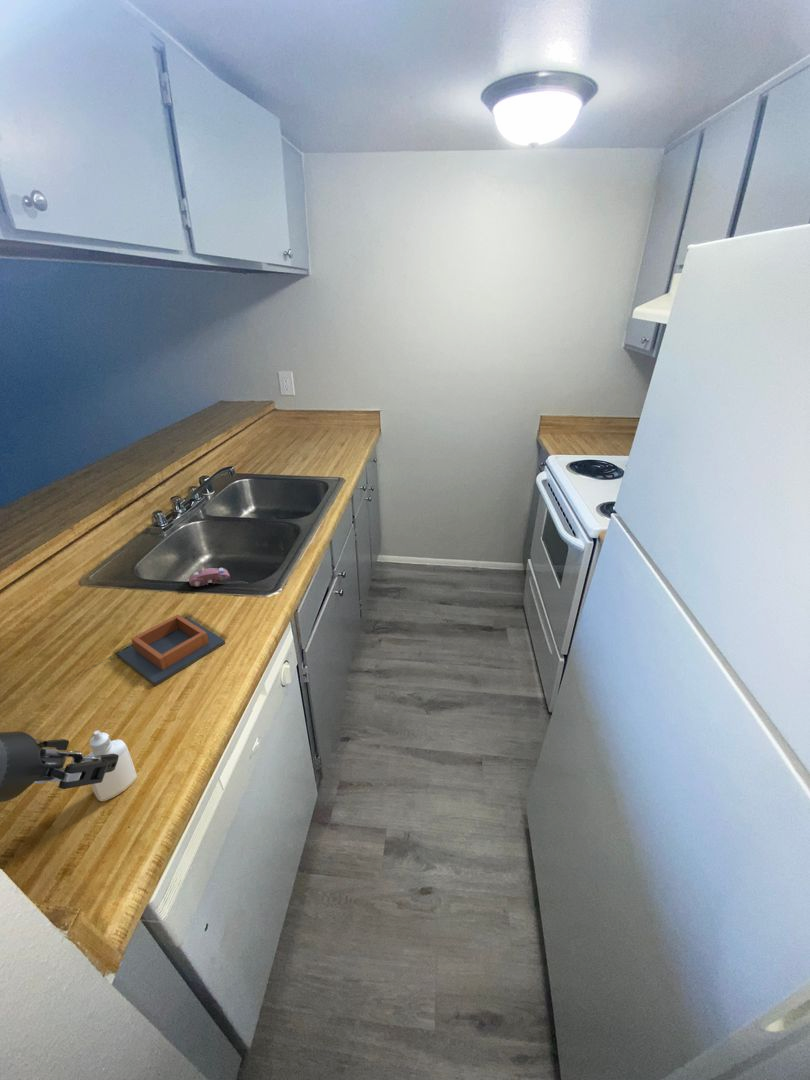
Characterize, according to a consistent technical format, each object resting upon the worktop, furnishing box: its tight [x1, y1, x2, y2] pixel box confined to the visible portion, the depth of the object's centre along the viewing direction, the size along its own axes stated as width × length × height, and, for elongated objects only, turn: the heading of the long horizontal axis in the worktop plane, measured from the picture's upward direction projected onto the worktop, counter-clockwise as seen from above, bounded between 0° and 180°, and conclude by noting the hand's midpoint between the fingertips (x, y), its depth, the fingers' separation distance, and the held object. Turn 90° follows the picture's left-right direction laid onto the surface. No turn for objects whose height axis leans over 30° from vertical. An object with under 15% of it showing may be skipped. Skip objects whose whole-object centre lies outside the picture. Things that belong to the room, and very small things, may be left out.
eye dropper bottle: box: [87, 729, 138, 802], centre depth 70 cm, size 4×6×12 cm
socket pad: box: [116, 614, 226, 687], centre depth 100 cm, size 16×14×4 cm
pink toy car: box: [188, 567, 231, 588], centre depth 121 cm, size 10×5×7 cm, turn 114°
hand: (89, 754), depth 67 cm, fingers open, 8 cm apart
